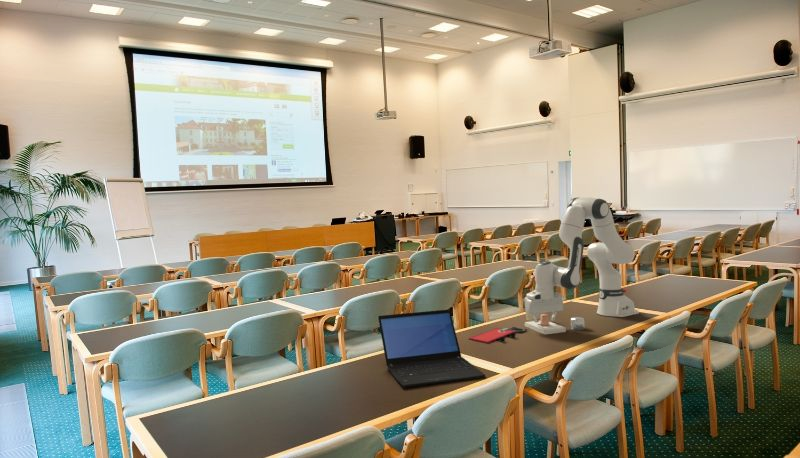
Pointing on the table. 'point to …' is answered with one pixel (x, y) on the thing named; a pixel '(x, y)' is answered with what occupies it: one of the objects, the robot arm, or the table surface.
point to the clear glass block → (577, 323)
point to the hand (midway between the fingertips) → (544, 321)
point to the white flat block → (545, 330)
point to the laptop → (424, 349)
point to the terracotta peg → (544, 320)
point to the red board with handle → (496, 335)
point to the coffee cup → (530, 317)
